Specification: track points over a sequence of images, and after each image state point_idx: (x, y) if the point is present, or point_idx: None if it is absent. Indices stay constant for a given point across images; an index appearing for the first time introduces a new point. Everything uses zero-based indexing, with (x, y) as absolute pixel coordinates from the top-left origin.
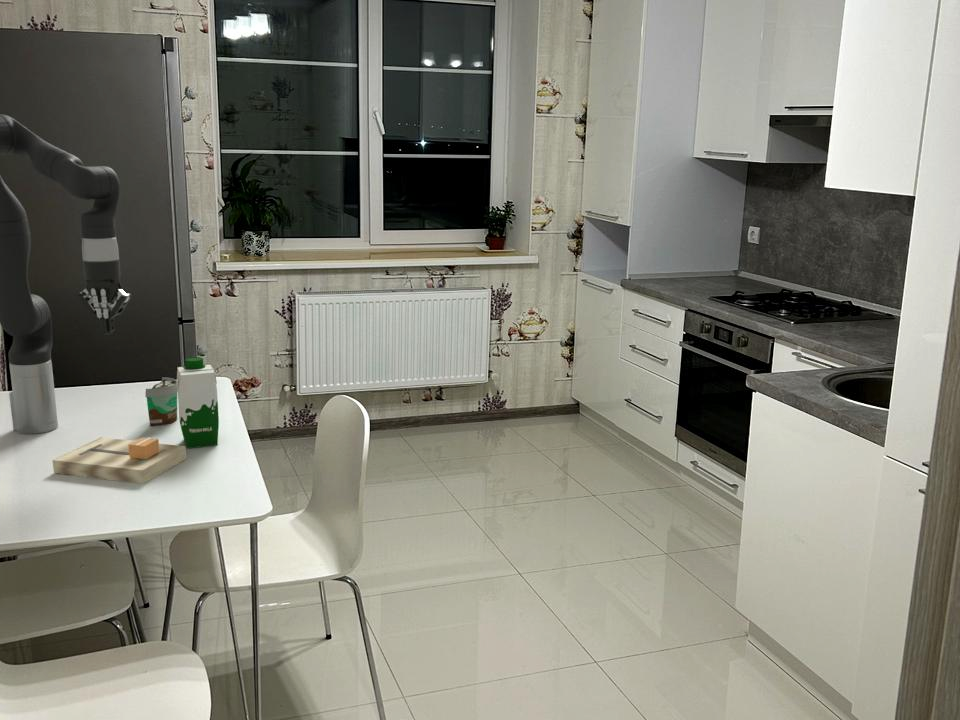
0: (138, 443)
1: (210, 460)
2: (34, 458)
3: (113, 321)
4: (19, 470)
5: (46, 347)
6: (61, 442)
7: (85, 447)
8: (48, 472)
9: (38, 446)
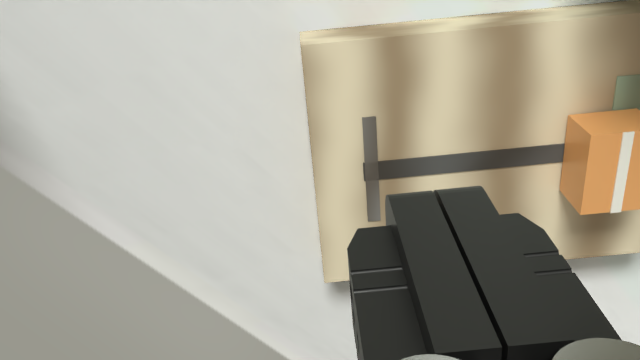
0: (615, 198)
1: None
2: (153, 187)
3: (599, 323)
4: (206, 273)
5: None
6: (81, 20)
7: (335, 160)
8: (300, 256)
9: (47, 91)
